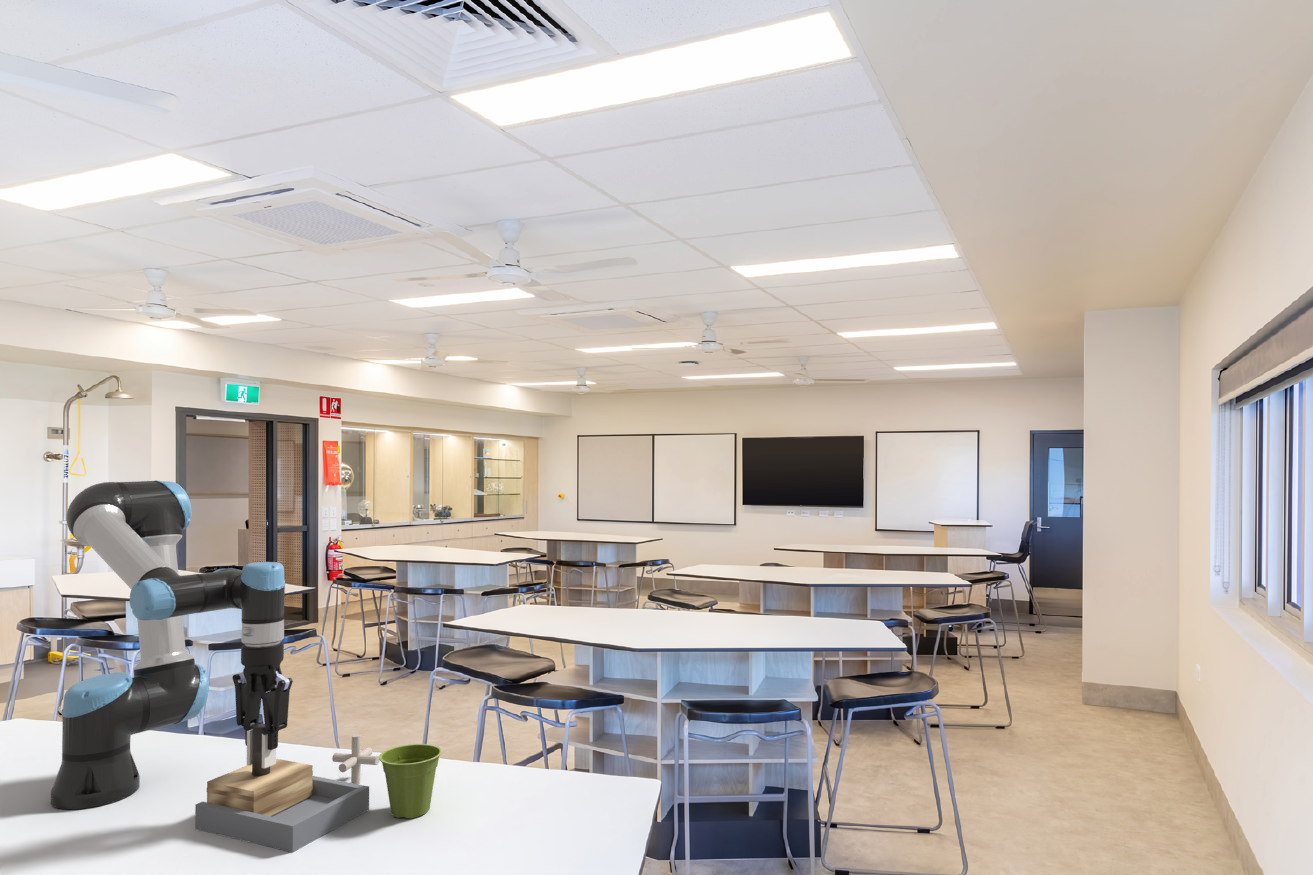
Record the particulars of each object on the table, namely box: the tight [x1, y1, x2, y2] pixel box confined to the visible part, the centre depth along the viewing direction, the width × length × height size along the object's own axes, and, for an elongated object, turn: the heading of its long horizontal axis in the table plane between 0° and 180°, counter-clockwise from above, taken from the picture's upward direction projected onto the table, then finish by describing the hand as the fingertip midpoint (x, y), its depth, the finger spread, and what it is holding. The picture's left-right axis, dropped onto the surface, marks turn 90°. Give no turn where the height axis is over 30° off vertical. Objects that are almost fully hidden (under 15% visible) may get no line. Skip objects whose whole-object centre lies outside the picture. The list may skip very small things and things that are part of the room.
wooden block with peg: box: [206, 723, 314, 816], centre depth 160 cm, size 12×14×15 cm
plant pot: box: [378, 743, 443, 819], centre depth 161 cm, size 12×12×11 cm
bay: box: [194, 775, 370, 853], centre depth 158 cm, size 24×19×4 cm
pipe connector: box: [331, 733, 380, 785], centre depth 175 cm, size 10×10×10 cm
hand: (261, 763), depth 160 cm, fingers closed on wooden block with peg, 3 cm apart
